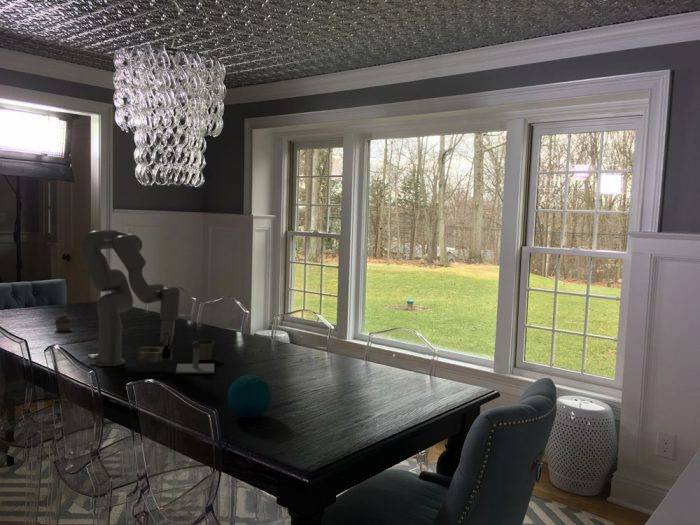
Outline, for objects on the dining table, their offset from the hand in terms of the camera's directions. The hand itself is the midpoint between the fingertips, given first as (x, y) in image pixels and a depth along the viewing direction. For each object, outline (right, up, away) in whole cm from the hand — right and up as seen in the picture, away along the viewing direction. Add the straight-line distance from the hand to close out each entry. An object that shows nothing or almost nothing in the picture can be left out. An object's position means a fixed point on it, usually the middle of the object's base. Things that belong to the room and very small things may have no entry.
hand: (166, 356), depth 263 cm
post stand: (+12, -7, +3) cm, 14 cm away
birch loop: (-5, -1, -1) cm, 5 cm away
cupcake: (-78, +3, +69) cm, 104 cm away
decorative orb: (+45, -13, -52) cm, 70 cm away
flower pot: (+11, -5, +23) cm, 26 cm away
